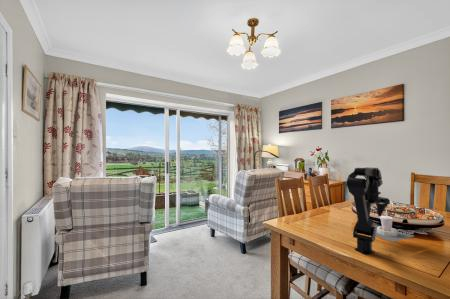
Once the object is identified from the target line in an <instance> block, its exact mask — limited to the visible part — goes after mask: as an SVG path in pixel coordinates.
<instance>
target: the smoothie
mask: <svg viewBox="0 0 450 299" xmlns="http://www.w3.org/2000/svg"><path fill="white" fill-rule="evenodd" d="M379 219H380V222H381V226H382V229H383V230H384V231H388V232H391V228H393V221H394V218H393V217H392V216H389V215H388V210H387V209H385V215H381V216H379Z"/></svg>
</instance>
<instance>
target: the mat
mask: <svg viewBox="0 0 450 299" xmlns="http://www.w3.org/2000/svg"><path fill="white" fill-rule="evenodd" d="M375 229H376V234H375V237H377V238H381V239H383V240H386V241H389V242H392V243H395V242H398V241H399V242H400V241H403V240H406V239H411V238H413V237H414V235H413V234H409V233H407V234H406V232H403V231H400V232H397V236H395V237H391V236H384V235H381V234H379V233H377V227H375ZM402 232H403V233H402Z"/></svg>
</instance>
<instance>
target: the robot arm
mask: <svg viewBox="0 0 450 299" xmlns="http://www.w3.org/2000/svg"><path fill="white" fill-rule="evenodd" d="M359 177H363V178H359ZM382 179H383V176H382V172H381V169H379V168H378V167H355V168H354V170H353V171H352V172H351V173H350V174H348V177H347V179H346V183H345V185H346V187H347V189H348V192H349V194H351V196H353V200H354V206H355V211H356V216H357V220H356V223H355V225H354V227H353V230H352V232H353V233H352V237H353V238H354V239H356V247H354V250H355V251H356V252H360V253H362V254H363V255H370V254H374V253H376V251H375V250H374V249H373V244H372V243H373V242H375V241H376V236H375V234H376V229H375V228H376V227H375V224H374V219H372V218H370V215H371V211H372V208H371V207H372V205H375V206H376V210H377V215H378V217H380V216H383V213H384V211H386V208H387V207H388V206H389V205H390V204H391V200H390V199H389V198H386V197H383V196H380V195H381V194H382V193H381V191H379V188H380V187H381V186H382V185H383V184H384V183H383V180H382Z"/></svg>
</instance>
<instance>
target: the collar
mask: <svg viewBox="0 0 450 299" xmlns="http://www.w3.org/2000/svg"><path fill="white" fill-rule="evenodd" d="M376 228H377V233H379V234H381V235H384V236H391V237H395V236H397V231H398V230H397V229H396V228H393V227H392V228H391V232H388V231H384V230H383V229H382V225H381V226H380V225H379V226H377V227H376Z"/></svg>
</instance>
